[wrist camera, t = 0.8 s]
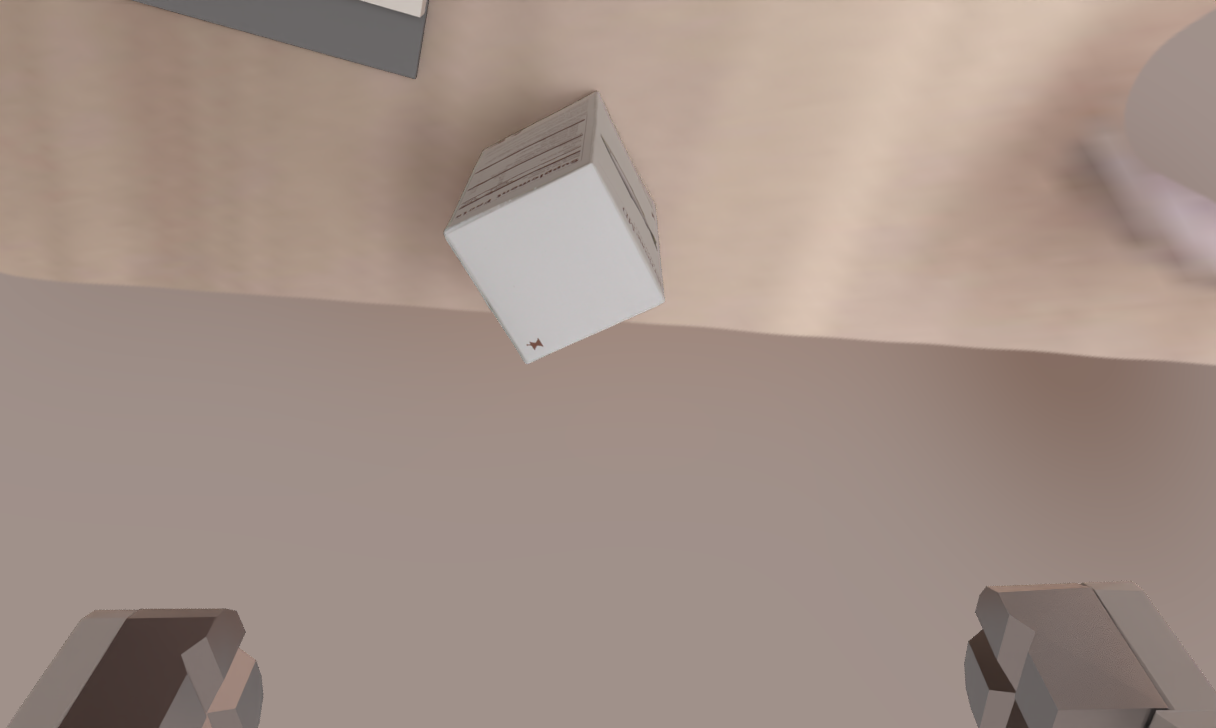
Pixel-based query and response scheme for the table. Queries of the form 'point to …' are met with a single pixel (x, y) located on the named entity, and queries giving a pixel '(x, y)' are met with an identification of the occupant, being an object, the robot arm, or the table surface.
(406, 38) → the desk mat
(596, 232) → the supplement box
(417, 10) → the frame
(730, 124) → the table surface
